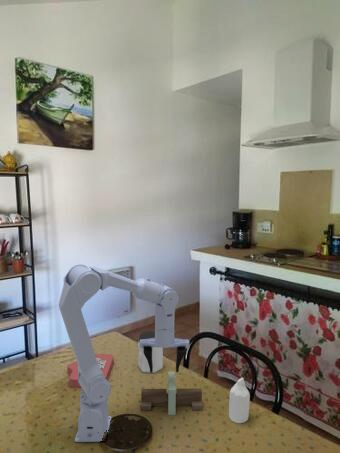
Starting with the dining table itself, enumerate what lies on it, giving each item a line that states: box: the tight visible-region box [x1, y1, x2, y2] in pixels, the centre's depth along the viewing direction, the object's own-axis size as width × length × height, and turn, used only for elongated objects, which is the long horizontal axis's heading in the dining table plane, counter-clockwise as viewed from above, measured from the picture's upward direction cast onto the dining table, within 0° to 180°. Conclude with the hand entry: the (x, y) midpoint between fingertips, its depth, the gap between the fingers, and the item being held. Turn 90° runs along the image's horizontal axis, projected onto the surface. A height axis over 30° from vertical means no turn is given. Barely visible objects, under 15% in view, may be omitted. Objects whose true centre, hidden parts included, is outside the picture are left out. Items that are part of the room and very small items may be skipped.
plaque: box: [67, 353, 115, 389], centre depth 119 cm, size 18×4×15 cm
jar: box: [137, 330, 164, 374], centre depth 123 cm, size 9×8×12 cm
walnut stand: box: [140, 388, 204, 412], centre depth 102 cm, size 6×18×4 cm, turn 91°
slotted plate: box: [167, 371, 177, 416], centre depth 102 cm, size 10×2×8 cm, turn 1°
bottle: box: [228, 377, 251, 424], centre depth 96 cm, size 6×12×6 cm
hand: (164, 370), depth 102 cm, fingers open, 7 cm apart
